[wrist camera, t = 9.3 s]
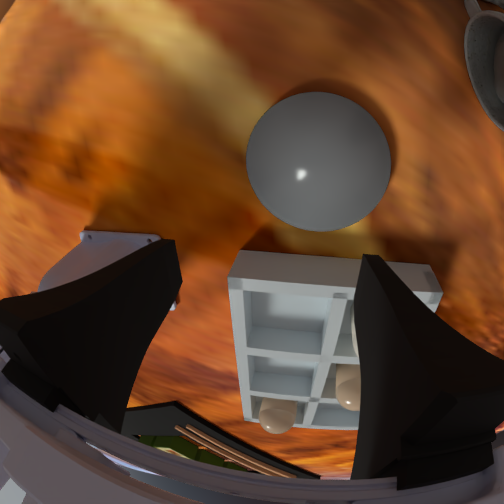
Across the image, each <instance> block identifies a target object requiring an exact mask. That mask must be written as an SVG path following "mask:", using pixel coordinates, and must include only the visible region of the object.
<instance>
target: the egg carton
mask: <svg viewBox="0 0 504 504" xmlns="http://www.w3.org/2000/svg"><path fill="white" fill-rule="evenodd" d="M361 261H362V259H351V258H338V257H325V256H312V255H300V254H287V253H274V252H261V251H248V250H239V253H238V255H237V257H236V259H235V261H234V263H233V266H232V268H231V270H230V272H229V274H228V276H227V278H228V288H229V298H230V307H231V317H232V326H233V335H234V343H235V352H236V360H237V368H238V377H239V384H240V392H241V400H242V407H243V415H244V420H245V421H251V422H258V423H260V422H259V412H260V408H261V403H262V398H263V397H267V398H275V399H284V400H294V401H298V406H297V413H296V420H295V423H294V425H293V426H292V427H301V428H314V429H335V430H358V427H359V414H360V411H351V410H347V409H345V408H344V407H342V406H341V405H340V404H339V402H338V400H337V398H336V363H338V364H360V363H359V358H358V356H357V355H356V353H355V351H354V348H353V343H352V329H351V317H350V308H351V305H352V303H353V302H354V294H355V289H356V285H357V281H358V276H359V271H360V266H361ZM385 262H386V263H387V264H388V265H389V267H390V268H391V269H392V270H393V271H394V272H395V273H396V274H397V276H398V277H399V278H400V279H401V280H402V281H403V282H404V283H405V284H406V285H407V286H408V288H409V289H410V290H411V291H412V292H413V293H414V294H415V295H416V296H417V297H418V298H419V299H420V300H421V301H422V302H423V303H424V304H425V305H426V306H427V307H428V308H430V309H431V310H432V311H433V312H434V313H435V311H436V309H437V307H438V304H439V302H440V300H441V297H442V295H443V291H442V289H441V287H440V285H439V283H438V281H437V279H436V277H435V275H434V273H433V271H432V269H431V267H430V265H426V264H414V263H401V262H388V261H385Z"/></svg>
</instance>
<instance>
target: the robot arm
mask: <svg viewBox="0 0 504 504" xmlns="http://www.w3.org/2000/svg"><path fill="white" fill-rule="evenodd" d="M80 238H81V241H82V242H81V243H80V244H78V245H77V246H76V247H75V248H74V249H72V250H71V251H70V252H69V253H68V254H67V255H65V256H64V257H63V258H62V259H61V260H60V261H59V262H58V263H56V264H55V265H54V266H53V267H52V268H51V269H50V270H49V271H48V272H47V273H46V274H45V275H44V277H43V278H42V280H41V282H40V285H39V288H38V292H31V293H30V294H27V295H22V296H16V297H9V298H4V299H2V300H0V490H1V489H2V487H3V486H4V485H5V484H6V482H7V481H8V480H9V479H10V478H11V479H12V480H13V481H14V482H15V483H16V484H17V485H18V486H19V487H20V488H22V489H23V490H24V491H25V492H26V496H25V498H24V500H23V502H22V504H204V503H201V502H197V501H194V500H191V499H188V498H184V497H181V496H178V495H175V494H172V493H169V492H167V491H164V490H161V489H159V488H156V487H153V486H151V485H148V484H146V483H143V482H141V481H138V480H136V479H134V478H131V477H129V476H130V473H129V472H128V471H126V470H124V469H123V468H121V467H120V466H118V465H116V464H115V463H114V462H112V461H111V460H109V459H108V458H107V457H105V456H104V455H103V454H102V453H101V452H100V451H98V450H96V449H95V448H93V447H91V446H90V445H88V444H86V442H88V443H90V444H92V445H94V446H95V447H97V448H99V449H101V450H103V451H105V452H107V453H109V454H111V455H114V456H116V457H118V458H120V459H122V460H124V461H127V462H129V463H131V464H134V465H136V466H139V467H141V468H144V469H146V470H149V471H151V472H154V473H157V474H159V475H162V476H165V477H168V478H171V479H174V480H177V481H180V482H183V483H187V484H190V485H194V486H197V487H201V488H205V489H210V490H213V491H217V492H221V493H226V494H231V495H236V496H241V497H247V498H253V499H259V500H267V501H275V502H284V503H296V504H504V445H502V446H499V447H498V448H496V449H494V450H492V445H491V442H493V441H494V440H495V439H496V433H495V428H496V427H497V426H498V425H500V424H501V423H502V422H503V421H504V360H502V359H500V358H498V357H496V356H494V355H492V354H491V353H489V352H487V351H486V350H484V349H482V348H481V347H479V346H477V345H476V344H474V343H473V342H471V341H470V340H468V339H467V338H465V337H464V336H463V335H461V334H460V333H459V332H457V331H456V330H455V329H453V328H452V327H451V326H449V325H448V324H447V323H446V322H444V321H443V320H442V319H441V318H440V317H439V316H437V315H436V314H435V313H434V312H433V311H432V310H431V309H430V308H428V307H427V306H426V305H425V304H424V303H423V302H422V301H421V300H420V299H419V298H418V297H417V296H416V295H415V294H414V293H413V292H412V291H411V290H410V289H409V288H408V286H407V285H406V284H405V283H404V282H403V281H402V280H401V279H400V278H399V277H398V276H397V274H396V273H395V272H394V271H393V270H392V269H391V268H390V267H389V265H388V264H387V263H386V262H385V261H384V260H383V259H382V258H381V257H380V256H379V255H369V254H363V256H362V261H361V266H360V271H359V276H358V281H357V285H356V289H355V294H354V324H355V332H356V339H357V347H358V355H359V363H360V374H361V395H360V414H359V427H358V435H357V444H356V451H355V457H354V463H353V468H352V474H351V478H350V480H317V479H300V478H288V477H278V476H270V475H262V474H256V473H250V472H244V471H238V470H233V469H228V468H223V467H219V466H215V465H210V464H206V463H202V462H198V461H195V460H191V459H188V458H184V457H181V456H177V455H174V454H171V453H168V452H165V451H162V450H159V449H156V448H153V447H151V446H148V445H145V444H142V443H140V442H137V441H135V440H132V439H130V438H127V437H125V436H123V435H121V430H122V425H123V421H124V416H125V412H126V408H127V404H128V401H129V397H130V394H131V390H132V387H133V384H134V381H135V379H136V376H137V373H138V370H139V368H140V365H141V363H142V360H143V358H144V355H145V353H146V351H147V349H148V347H149V345H150V343H151V341H152V339H153V337H154V336H155V334H156V332H157V331H158V329H159V327H160V325H161V324H162V322H163V320H164V319H165V317H166V315H167V314H168V312H169V310H175V308H176V307H177V305H176V301H175V299H176V297H177V294H178V292H179V289H180V287H181V284H182V282H183V281H182V276H181V271H180V266H179V261H178V256H177V251H176V245H175V240H170V239H161V238H160V237H159V236H158V235H156V234H140V233H123V232H105V231H86V230H83V231H82V232H80ZM149 239H151V240H152V242H151V241H150V240H149Z"/></svg>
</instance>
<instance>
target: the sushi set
mask: <svg viewBox="0 0 504 504" xmlns="http://www.w3.org/2000/svg"><path fill="white" fill-rule="evenodd" d="M121 435H123V436H125V437H127V438H130V439H132V440H135V441H137V442H140V443H142V444H145V445H148V446H151V447H153V448H156V449H159V450H162V451H165V452H168V453H171V454H174V455H177V456H181V457H184V458H188V459H191V460H195V461H198V462H202V463H206V464H210V465H215V466H219V467H223V468H228V469H233V470H238V471H244V472H250V473H256V474H262V475H270V476H278V477H288V478H300V479H317V480H320V476H318V475H315V474H313V473H310V472H307V471H305V470H302V469H300V468H298V467H295V466H293V465H290V464H288V463H286V462H283V461H281V460H279V459H277V458H275V457H272V456H270V455H268V454H266V453H264V452H262V451H260V450H258V449H256V448H254V447H252V446H250V445H248V444H246V443H244V442H242V441H240V440H239V439H237V438H235V437H233V436H231V435H229V434H228V433H226V432H224V431H222V430H221V429H219V428H217V427H216V426H214V425H212V424H210V423H209V422H207V421H206V420H204V419H202V418H201V417H199V416H198V415H196V414H194V413H193V412H191V411H190V410H188V409H187V408H185V407H184V406H182V405H181V404H179V403H178V402H176V401H172V402H166V403H160V404H154V405H147V406H140V407H133V408H126V412H125V416H124V421H123V425H122V430H121ZM138 435H141V437H139V436H138ZM180 436H186V437H188V438H190V439H191V440H193V441H195V442H197V443H199V444H201V445H202V446H204V447H206V448H208V449H210V450H212V451H214V452H216V453H218V454H220V455H222V456H224V457H227V458H229V459H231V460H233V461H235V462H237V463H240V464H242V465H244V466H247V467H249V468H251V469H254V470H247V469H244V468H242V467H240V466H237V465H235V464H233V463H231V462H224V459H222V458H220V457H218V456H216V455H214V454H212V453H210V452H208V451H206V450H204V449H198V446H196V445H194V444H192V443H191V442H189V441H187V440H185V439H183V438H182V437H180Z"/></svg>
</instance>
